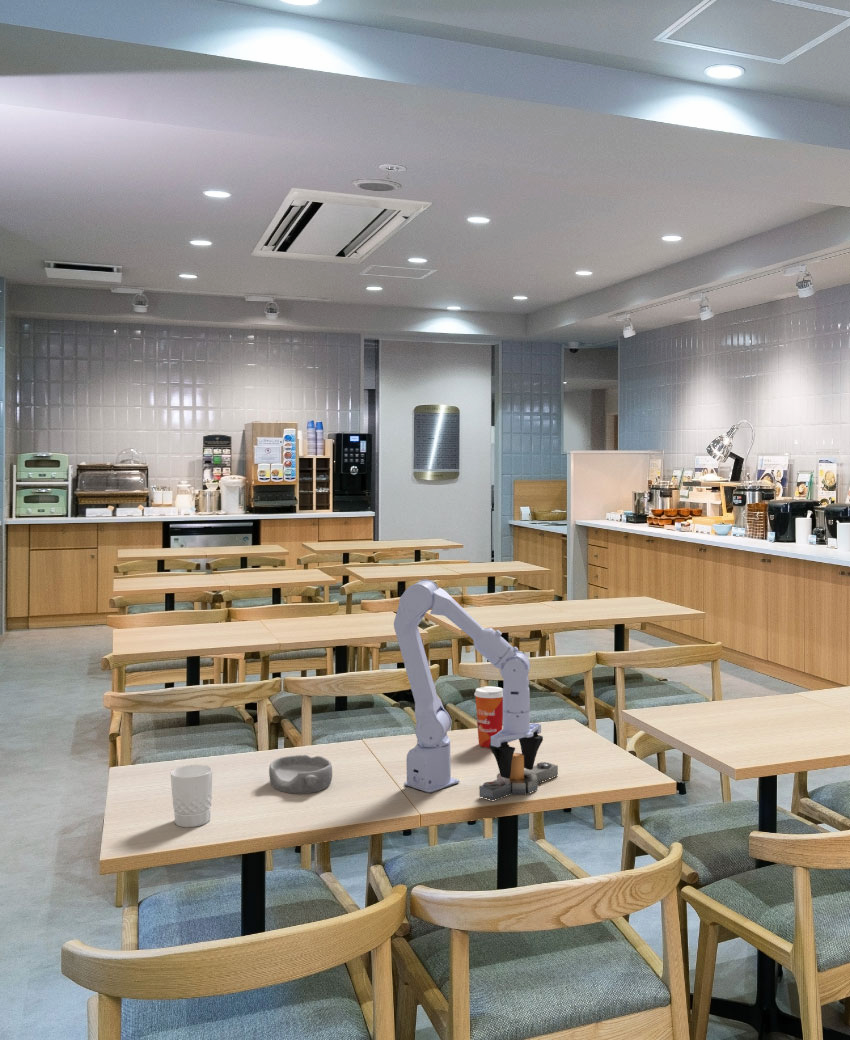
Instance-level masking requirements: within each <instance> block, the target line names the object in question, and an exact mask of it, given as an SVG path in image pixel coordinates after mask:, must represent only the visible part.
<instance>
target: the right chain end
mask: <svg viewBox="0 0 850 1040" xmlns="http://www.w3.org/2000/svg"><path fill="white" fill-rule="evenodd" d="M558 771H559V766H558V765H557V764H554V763H550V762H546V761H545V762H544V761H542V762H537V763H536V764H535V765H534V766H533V769H532V770H529V769H525V768H524V779H523V780H512V779H509V778H504V777H501V775H500V772H499V773H497V774H496V780H498V779H502V780H505V781H509V782H512V789H526V788H530V787H533V786H535V785H537V786H538V785H539V784H541V783H540V782H542V781H544V782H546V781H545V780H547V779H549V778H552V777H554V776H557V775H558V776H559V772H558ZM558 776H557V777H558ZM554 778H555V777H554ZM552 779H553V778H552ZM549 780H550V779H549ZM547 781H548V780H547ZM509 782H508V783H509ZM538 783H539V784H538ZM542 783H543V782H542Z"/></svg>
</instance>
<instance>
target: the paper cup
mask: <svg viewBox="0 0 850 1040" xmlns="http://www.w3.org/2000/svg"><path fill="white" fill-rule="evenodd" d="M473 695H474V696H475V708H476V709H475V711H476V725H477V735H478V737H477V739H478V746H479V745H480V746H479V747H481V746H482V747H481V748H484V747H487V748H486V749H490V743H491V736H493V735H495V734H497V733H498V732H500V731H501V730H502V729H503V688H502V687H499V686H494V685H493V686H492V685H491V686H489V685H488V686H485V685H484V686H481V687H477V688H475V692H474V694H473Z"/></svg>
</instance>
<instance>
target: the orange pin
mask: <svg viewBox="0 0 850 1040" xmlns="http://www.w3.org/2000/svg"><path fill="white" fill-rule="evenodd" d="M524 770H525V768H524V755H523V754H522V753H518V752H514V753H513V757H512V763H511V775H510V778H509V779H512V780H523V779H524Z"/></svg>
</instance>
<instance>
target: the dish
mask: <svg viewBox="0 0 850 1040" xmlns="http://www.w3.org/2000/svg"><path fill="white" fill-rule="evenodd" d="M268 773H269V774H268V775H269V781H270V784H271V786H272V788H273V789H275V790H277V791H278V792H279V791H280V792H283V793H288V794H299V795H300V794H302V795H303V794H312V793H317V792H319V791H323V790H324V789H326V788H328V787H329V786H330V785H331V783H332V779H333V766H332V762H331V761H330V760H329V759H327V758H326V757H323V756H321V755H320V756H319V755H317V756H310V755H308V754H307V755H306V754H304V755H302V754H296V755H295V754H294V755H287V756H286V755H285V756H280V757H278V758H276V759H274V760H272V762H270V764H269V768H268Z"/></svg>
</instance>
